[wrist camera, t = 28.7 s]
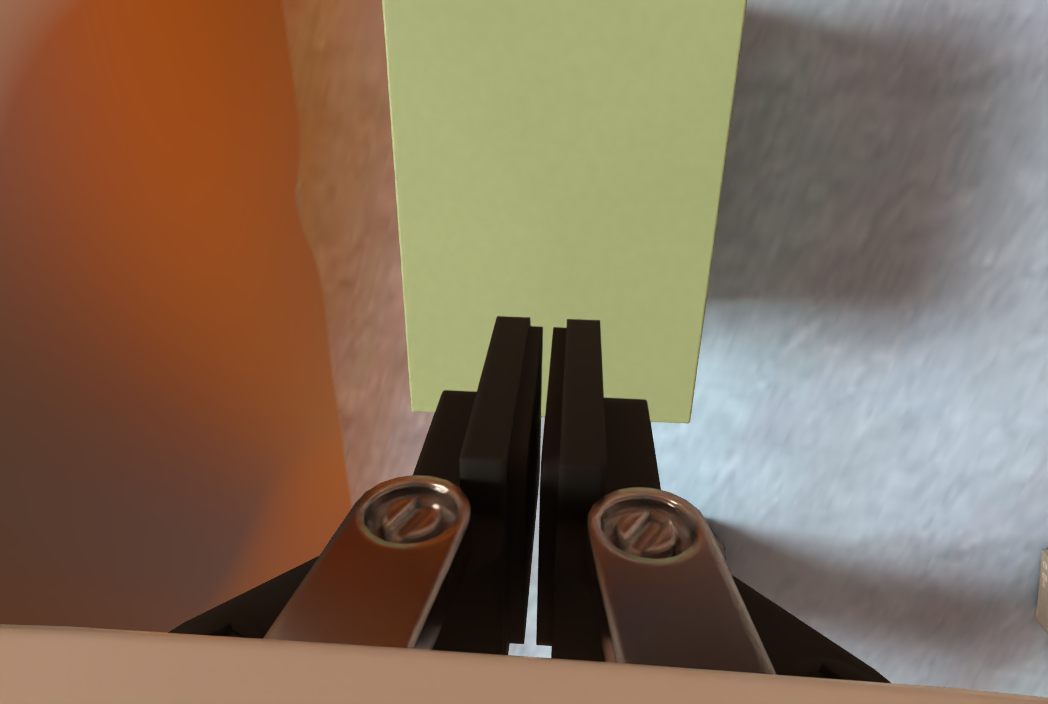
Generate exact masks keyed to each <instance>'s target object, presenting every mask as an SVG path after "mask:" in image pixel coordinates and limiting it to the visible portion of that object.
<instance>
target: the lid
mask: <svg viewBox="0 0 1048 704" xmlns="http://www.w3.org/2000/svg"><path fill="white" fill-rule="evenodd" d="M382 3H383V17H384V31H385V45H386V59H387V73H388V87H389V101H390V115H391V129H392V143H393V157H394V171H395V185H396V199H397V213H398V227H399V241H400V255H401V269H402V283H403V297H404V311H405V325H406V339H407V353H408V367H409V381H410V395H411V409H412V411H418V412H435V411H436V408H437V405H438V402H439V399H440V397H441V394H442V392H443V391H444V390H453V391H475V392H477V389H478V385H479V381H480V378H481V374H482V370H483V366H484V363H485V359H486V355H487V351H488V348H489V344H490V340H491V336H492V332H493V329H494V325H495V321H496V318H497V316H506V317H530V320H531V326H538V327H543V354H542V396H541V417H545V413H546V402H547V391H548V380H549V369H550V358H551V347H552V336H553V327H563V328H566V327H567V319H582V320H600V328H601V349H602V370H603V391H604V398H626V399H645V400H647V403H648V409H649V415H650V422H669V423H689V422H690V418H691V411H692V403H693V396H694V389H695V381H696V374H697V366H698V359H699V352H700V344H701V337H702V329H703V322H704V315H705V307H706V300H707V292H708V285H709V278H710V270H711V263H712V255H713V248H714V241H715V233H716V226H717V218H718V211H719V204H720V196H721V189H722V181H723V174H724V167H725V159H726V152H727V145H728V137H729V130H730V122H731V115H732V108H733V100H734V93H735V85H736V78H737V71H738V63H739V56H740V48H741V41H742V34H743V26H744V19H745V11H746V4H747V0H382Z"/></svg>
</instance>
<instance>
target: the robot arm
mask: <svg viewBox="0 0 1048 704" xmlns="http://www.w3.org/2000/svg"><path fill="white" fill-rule="evenodd" d="M542 354H543V327H538V326H531V320H530V317H506V316H497V318H496V321H495V325H494V329H493V332H492V336H491V340H490V344H489V348H488V351H487V355H486V359H485V363H484V366H483V370H482V374H481V378H480V381H479V385H478V389H477V392H475V391H453V390H444V391H443V392H442V394H441V397H440V399H439V402H438V405H437V408H436V411H435V414H434V416H433V419H432V422H431V425H430V428H429V431H428V434H427V436H426V439H425V442H424V445H423V448H422V451H421V454H420V456H419V459H418V462H417V465H416V468H415V471H414V474H413V475H412V476H405V477H398V478H394V479H391V480H388V481H385V482H382V483H380V484H378V485H376V486H375V487H373V488H371V489H370V490H368V491H367V492H365V493H364V494H363V496H362V497H361V498H360V499H359V500H358V501H357V502H356V503H355V504H354V506H353V507H352V509H351V510H350V512H349V513H348V515H347V516H346V518H345V519H344V521H343V522H342V524H341V525H340V527H339V528H338V530H337V531H336V532H335V534H334V535H333V537H332V538H331V540H330V541H329V543H328V544H327V546H326V547H325V548H324V550H323V551H322V553H321V554H320V556H318V557H316V558H314V559H312V560H310V561H308V562H306V563H304V564H302V565H300V566H298V567H296V568H294V569H292V570H290V571H287V572H285V573H283V574H281V575H280V576H277V577H275V578H273V579H271V580H269V581H267V582H265V583H263V584H261V585H259V586H257V587H256V588H253V589H251V590H250V591H247V592H245V593H243V594H241V595H239V596H237V597H235V598H233V599H231V600H229V601H227V602H225V603H223V604H221V605H219V606H217V607H215V608H213V609H211V610H209V611H207V612H205V613H203V614H201V615H199V616H197V617H195V618H193V619H191V620H188V621H186V622H184V623H183V624H181V625H180V626H178V627H176V628H175V629H173V630H171V631H170V632H168V633H162V632H146V631H130V630H115V629H98V628H84V627H65V626H34V625H2V624H0V704H1048V698H1046V697H1037V696H1027V695H1018V694H1008V693H999V692H989V691H980V690H970V689H960V688H946V687H933V686H920V685H906V684H893V683H891V682H889V681H888V680H887V679H886V678H885V677H883V676H882V675H881V674H880V673H878V672H877V671H876V670H875V669H873V668H872V667H870V666H869V665H867V664H866V663H864V662H863V661H861V660H860V659H858V658H857V657H855V656H853V655H852V654H850V653H849V652H847V651H846V650H844V649H843V648H841V647H840V646H838V645H837V644H835V643H834V642H832V641H831V640H829V639H828V638H826V637H825V636H823V635H822V634H820V633H819V632H817V631H816V630H814V629H813V628H811V627H810V626H808V625H807V624H805V623H804V622H802V621H801V620H799V619H798V618H796V617H795V616H793V615H792V614H790V613H789V612H787V611H786V610H784V609H783V608H781V607H779V606H778V605H776V604H775V603H773V602H772V601H770V600H769V599H767V598H766V597H764V596H763V595H761V594H760V593H758V592H757V591H755V590H754V589H752V588H751V587H749V586H748V585H746V584H745V583H743V582H742V581H740V580H739V579H737V578H736V577H734V576H733V575H731V573H730V571H729V569H728V567H727V564H726V562H725V560H724V558H723V556H722V553H721V551H720V549H719V547H718V544H717V542H716V540H715V538H714V536H713V533H712V531H711V529H710V527H709V525H708V522H707V521H706V520H705V518H704V517H703V515H702V514H701V512H700V511H699V510H698V509H697V508H696V507H694V506H693V505H692V504H691V503H689V502H688V501H687V500H685V499H683V498H681V497H679V496H677V495H675V494H672V493H670V492H666V491H662V490H661V488H660V481H659V475H658V468H657V461H656V455H655V448H654V442H653V435H652V429H651V422H650V415H649V409H648V403H647V400H645V399H626V398H604V391H603V370H602V349H601V328H600V320H582V319H567V327H566V328H563V327H553V336H552V347H551V358H550V369H549V380H548V391H547V402H546V413H545V424H544V435H543V446H542V459H541V479H540V517H539V557H538V598H537V638H536V645H545V646H552V654H551V658H539V657H525V656H511V655H508V651H509V643H516V644H524V639H525V629H526V618H527V607H528V596H529V585H530V574H531V563H532V553H533V542H534V531H535V520H536V509H537V498H538V487H539V472H540V437H541V396H542Z"/></svg>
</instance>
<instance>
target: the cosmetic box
mask: <svg viewBox="0 0 1048 704" xmlns="http://www.w3.org/2000/svg"><path fill="white" fill-rule="evenodd" d="M1036 615H1037V621H1038V622H1039V623H1040V625H1041V626H1042V627H1043V628H1044V629H1045V631H1046V632H1047V633H1048V549H1044V550H1042V556H1041V566H1040V582H1039V592H1038V602H1037V608H1036Z"/></svg>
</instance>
